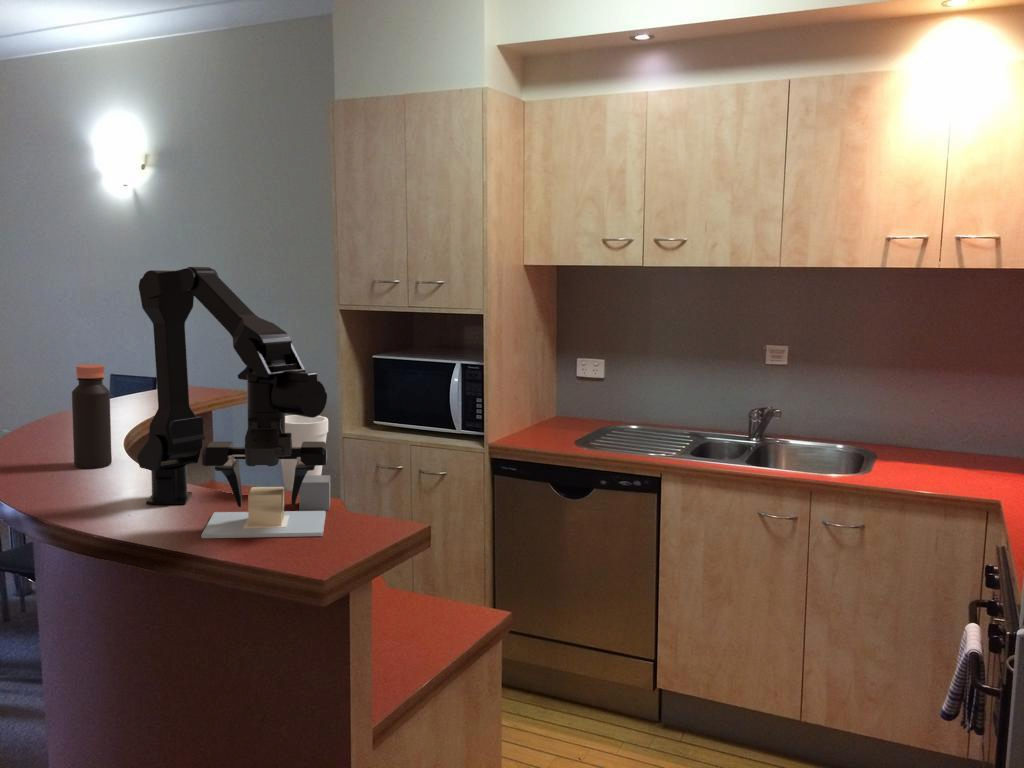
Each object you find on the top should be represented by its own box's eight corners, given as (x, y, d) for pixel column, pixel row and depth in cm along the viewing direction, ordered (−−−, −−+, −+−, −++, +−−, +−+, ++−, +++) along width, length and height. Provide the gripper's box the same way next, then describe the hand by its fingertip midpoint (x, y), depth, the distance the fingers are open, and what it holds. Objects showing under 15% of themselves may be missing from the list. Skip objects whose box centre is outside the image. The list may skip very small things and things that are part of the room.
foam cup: (337, 488, 166) (338, 420, 164) (295, 496, 159) (296, 425, 157) (307, 478, 172) (307, 413, 170) (266, 486, 165) (266, 418, 163)
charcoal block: (301, 503, 155) (301, 475, 155) (330, 502, 156) (330, 475, 156) (299, 511, 151) (299, 482, 150) (329, 510, 151) (329, 482, 151)
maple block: (252, 517, 143) (252, 487, 143) (283, 516, 144) (283, 486, 144) (248, 526, 139) (248, 495, 138) (281, 525, 139) (281, 494, 139)
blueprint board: (214, 515, 146) (214, 511, 146) (325, 514, 149) (325, 510, 149) (201, 538, 134) (201, 533, 134) (322, 536, 137) (322, 531, 137)
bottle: (97, 470, 173) (94, 368, 170) (66, 467, 174) (62, 366, 172) (118, 462, 180) (116, 365, 177) (89, 460, 181) (86, 363, 178)
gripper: (194, 418, 129) (196, 521, 132) (325, 419, 133) (324, 520, 135) (207, 406, 140) (208, 501, 142) (327, 407, 143) (327, 500, 146)
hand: (266, 506), depth 141 cm, fingers open, 8 cm apart
